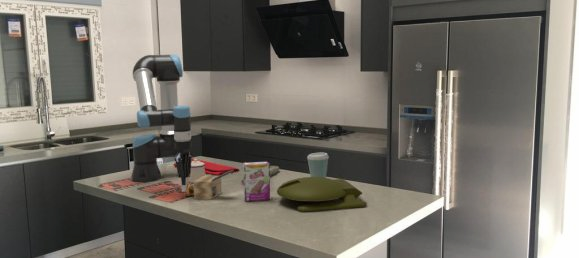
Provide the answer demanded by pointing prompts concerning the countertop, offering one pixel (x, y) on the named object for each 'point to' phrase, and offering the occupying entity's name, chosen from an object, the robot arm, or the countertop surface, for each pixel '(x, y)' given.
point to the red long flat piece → (215, 168)
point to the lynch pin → (191, 190)
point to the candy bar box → (256, 181)
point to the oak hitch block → (206, 187)
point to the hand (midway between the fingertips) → (185, 191)
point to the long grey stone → (272, 171)
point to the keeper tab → (222, 175)
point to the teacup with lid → (196, 170)
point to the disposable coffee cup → (318, 164)
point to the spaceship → (321, 193)
